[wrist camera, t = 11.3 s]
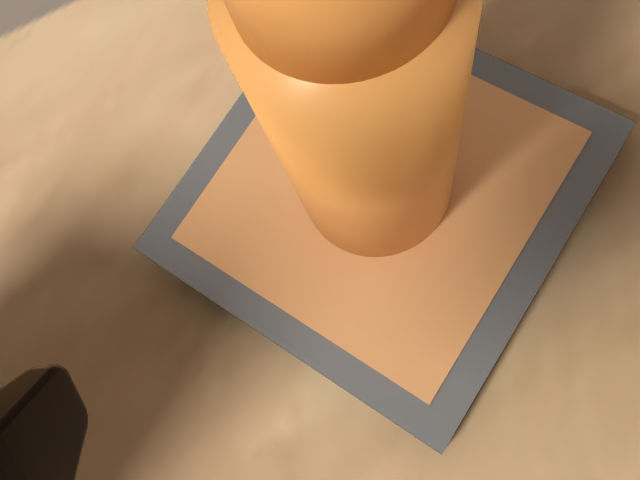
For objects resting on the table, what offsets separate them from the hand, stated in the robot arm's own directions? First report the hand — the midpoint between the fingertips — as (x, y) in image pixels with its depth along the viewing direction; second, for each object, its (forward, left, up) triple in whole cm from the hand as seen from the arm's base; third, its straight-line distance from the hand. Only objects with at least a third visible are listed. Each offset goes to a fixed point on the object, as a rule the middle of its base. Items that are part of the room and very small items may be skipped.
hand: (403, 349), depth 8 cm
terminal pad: (+4, -5, -12) cm, 13 cm away
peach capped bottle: (+4, -5, -11) cm, 13 cm away
